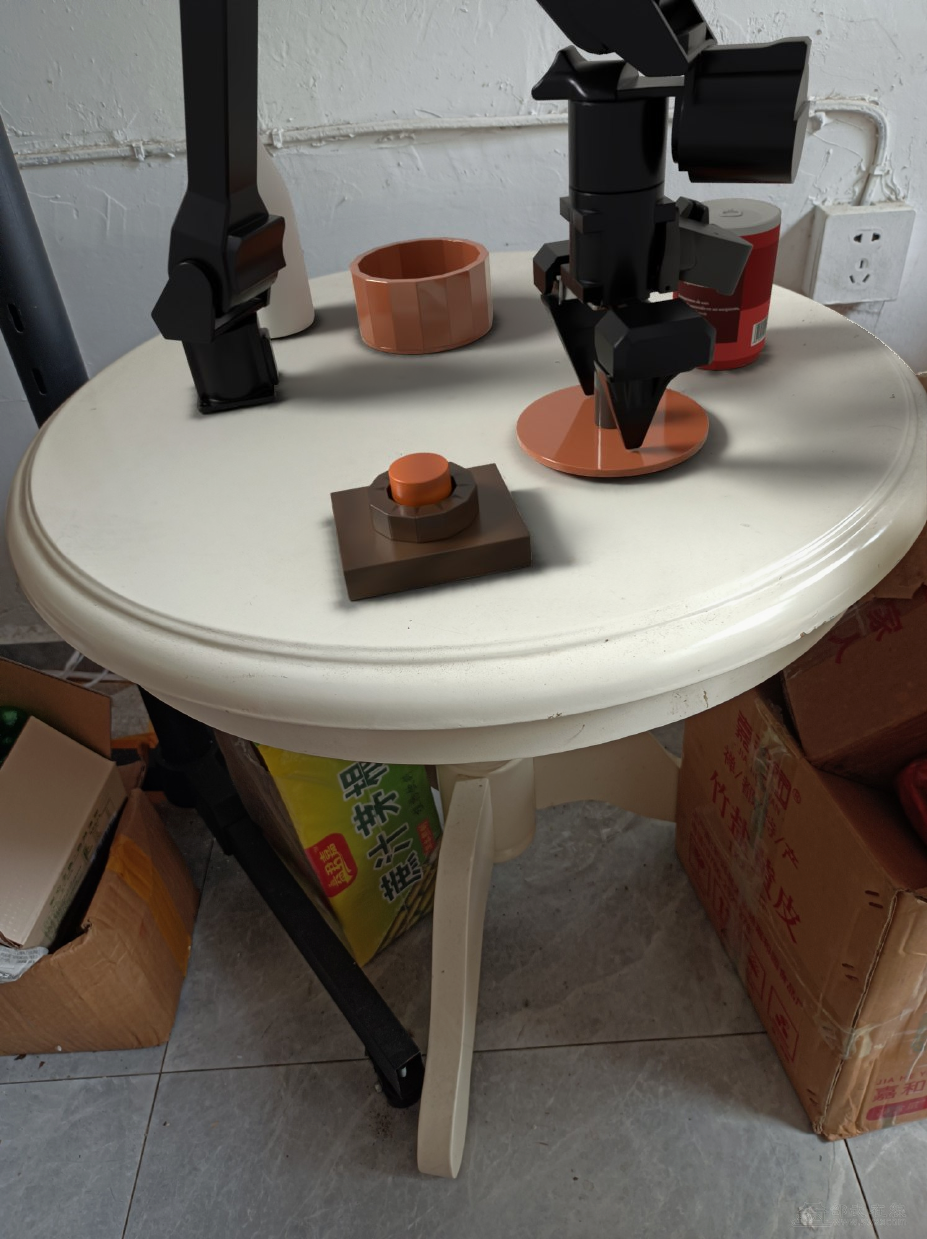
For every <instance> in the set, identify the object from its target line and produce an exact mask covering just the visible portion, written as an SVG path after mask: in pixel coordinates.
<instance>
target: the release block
mask: <svg viewBox="0 0 927 1239" xmlns="http://www.w3.org/2000/svg"><path fill="white" fill-rule="evenodd" d="M448 463H449V468H450V477H451V486H452V491H451V493H450V495H449V497H447V498H445V499H443V500H441V501H440V502H438V503H435V504H430V505H425V506H419V507H415V506H405V505H400V504H398V503H397V502H396V501H395V500H394V499H393V497H392V491H391V485H390V479H389V472H388V471H389V469H388V470H385V471H384V472H381V473H380V474H378V475H377V476H376V477H375V478H374V480H373V481H372V482H371V483H370V485H365V486H361V487H355V488H348V489H343V490H337V491H333V492H330V493H329V496H330V503H331V508H332V514H333V520H334V526H335V527H334V528H335V533H336V539H337V545H338V551H339V557H340V563H341V564H340V565H341V570H342V575H343V579H344V583H345V589H346V592H347V597H348V600H349V601H357V600H361V599H366V598H373V597H375V596H382V595H387V594H392V593H397V592H404V591H408V590H413V589H418V588H423V587H429V586H434V585H440V584H445V583H449V582H454V581H459V580H464V579H468V578H469V579H470V578H476V577H481V576H485V575H491V574H495V573H500V572H501V573H502V572H505V571H512V570H516V569H521V568H526V567H531V566H532V565H533V556H532V555H533V554H532V536H531V533H530V531H529V529H528V527H527V525H526V523H525V522H524V519H523V517H522V515H521V513H520V510H519V509H518V506H517V504H516V502H515V500H514V498H513V496H512V494H511V492H510V490H509V488H508V486H507V484H506V482H505V480H504V478H503V476H502V474H501V472H500V470H499V467H498V466H497V464H496V463H495V462H493V463H486V464H482V465H476V466H471V467H464V466H461V465H460V464H458V463H456V462H453V461H448Z"/></svg>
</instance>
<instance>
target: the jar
mask: <svg viewBox="0 0 927 1239" xmlns="http://www.w3.org/2000/svg"><path fill="white" fill-rule="evenodd" d="M348 268H349V269H348V270H349V274H350V281H351V286H352V287H351V288H352V293H353V299H354V305H355V311H356V316H357V323H358V328H359V332H360V336H361V340H362V342H363V343H365V345H367V346H368V347H370V348H372V349H374V350H377V351H380V352H384V353H389V354H398V355H422V354H423V355H424V354H433V353H440V352H444V351H450V350H454V349H456V348H457V349H458V348H460V347H463V346H466V345H469V344H471V343H473V342H476V341H477V340H479V339H481V338H483V337H484V336H485V335H486V334H487V333H488V332H489V331H490V330H491V328H492V326H493V319H494V306H493V292H492V291H493V290H492V276H491V262H490V252H489V250H488V249H487V248H486V247H485V245H484V244H483V243H480V242H477V241H473V240H471V239H467V238H459V237H450V236H442V237H441V236H437V237H419V238H412V239H405V240H399V241H394V242H390V243H386V244H384V245H380V246H375V247H373V248H371V249H368V250H367V251H365V252H362V253H361V254H358V255H356V256H355V258H354V259H353V260H352V261H351V262H350V263H349V264H348Z"/></svg>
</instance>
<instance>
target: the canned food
mask: <svg viewBox="0 0 927 1239" xmlns="http://www.w3.org/2000/svg"><path fill="white" fill-rule="evenodd" d="M700 202H701V203H703V204H704V205H706V206H708V208H709V224H711V223H713V224H716V225H718V226H720V227H721V228H724V229H727V230H729V231H731V232H733V233H734V234H736V235H738V236H739V237H741V238H743V239H744V240H746V241H748V242H749V243H751V244H752V245H753V248H752V250H751V253H750V255H749V257H748V260H747V262H746V264H745V267H744V269H743V271H742V274H741V276H740V278H739V281H738V283H737V285H736V288H735V290H734V293H733V295H724V294H720V293H718V292H717V290H716V289H713V288H708V287H704V286H700V285H696V284H691V283H687V282H683V281H680V280H679V282H678V291H676V292H672V298H671V299H675V298H681V299H682V300H683V301H684V302H686V303H687V304H688V305H689V306H690V307H692V308H693V309H694V310H695V311H697V312H698V313H699V314H700V315H701V316H703V317H704V318H705V319H706V320H707V321H708V322H709V323H710V324H711V325H712V326H713V327H714V328H715V329H716V339H715V349H714V360H713V361H712V362H711V363H710V364H709V365H708V366H702V367H697V368H696V369H699V370H708V371H726V370H734V369H737V368H742V367H745V366H747V365H749V364H751V363H753V362H754V361H756V360H757V359H758V357H759V356H760V355H761V352H762V351H763V349H764V347H765V342H766V334H767V328H768V320H769V315H770V314H769V313H770V306H771V300H772V293H773V286H774V278H775V270H776V264H777V257H778V250H779V242H780V235H781V228H782V227H781V226H782V210H781V208H780V207H778V205H776V204H773V203H771V202H768V201H764V200H761V199H755V198H744V197H743V198H742V197H741V198H740V197H729V198H727V197H726V198H714V199H710V200H709V199H708V200H703V201H700Z"/></svg>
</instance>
